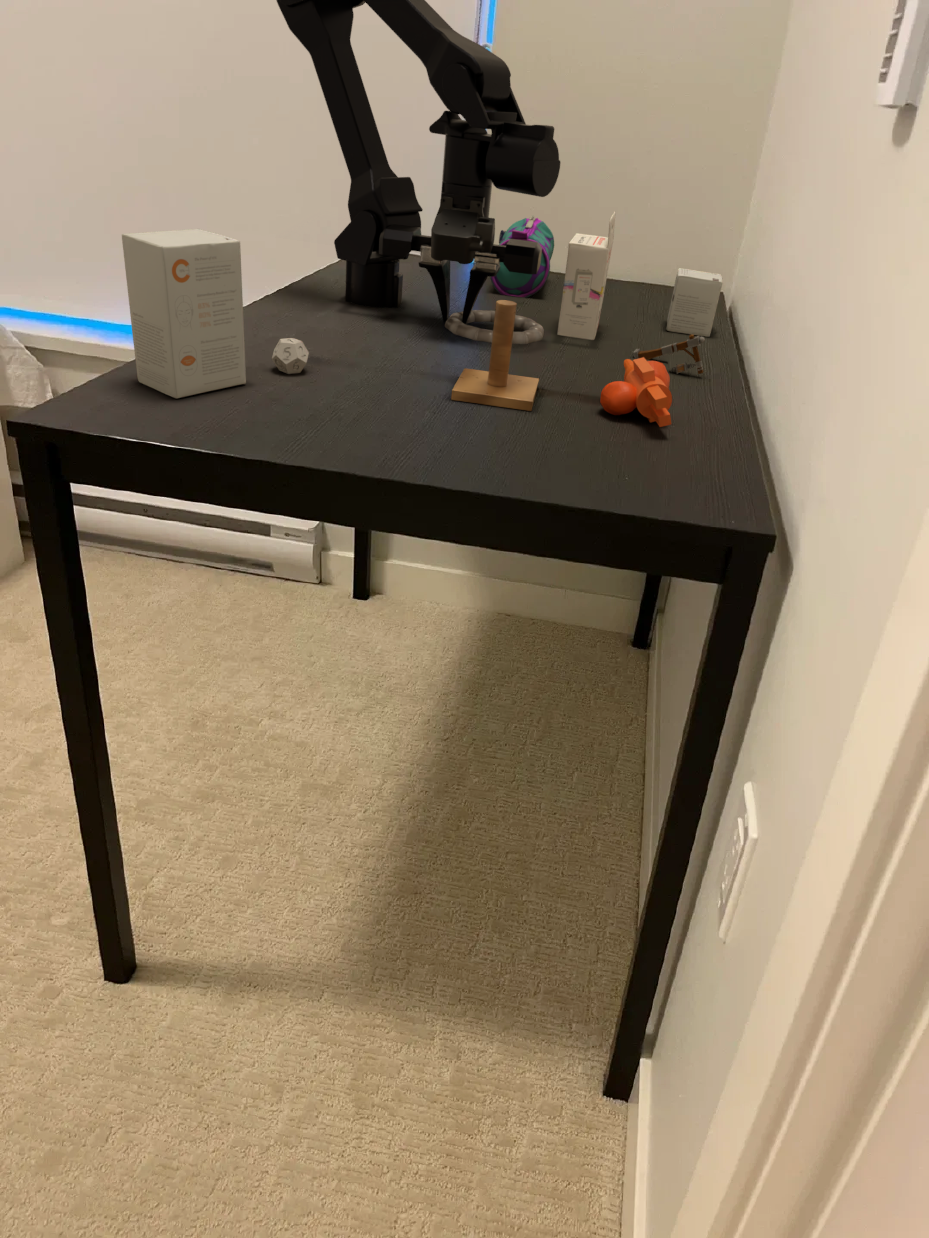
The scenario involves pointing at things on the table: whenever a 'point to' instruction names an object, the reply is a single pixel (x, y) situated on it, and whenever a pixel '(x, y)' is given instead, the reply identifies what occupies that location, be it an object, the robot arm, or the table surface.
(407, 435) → the table surface
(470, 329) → the gray segmented ring
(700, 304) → the white cardboard box
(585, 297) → the ink cartridge box
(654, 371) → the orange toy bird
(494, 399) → the wooden peg stand
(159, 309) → the small box
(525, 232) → the pencil case
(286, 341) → the game die
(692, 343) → the wooden post with brackets
